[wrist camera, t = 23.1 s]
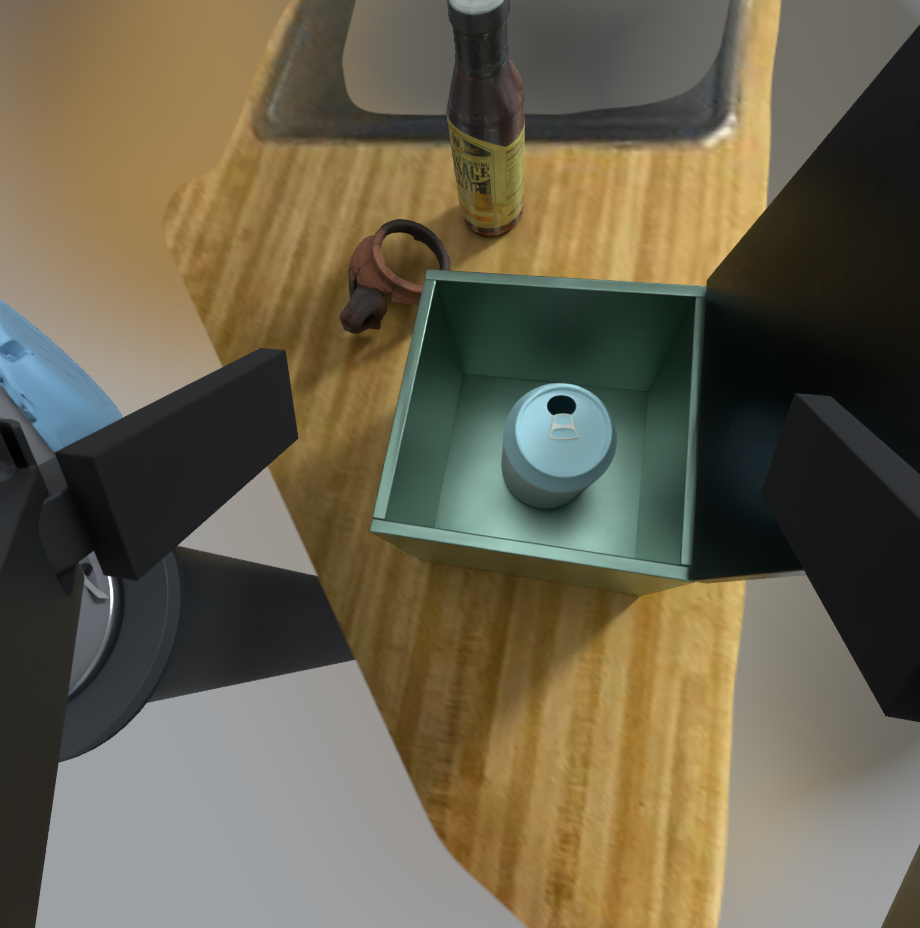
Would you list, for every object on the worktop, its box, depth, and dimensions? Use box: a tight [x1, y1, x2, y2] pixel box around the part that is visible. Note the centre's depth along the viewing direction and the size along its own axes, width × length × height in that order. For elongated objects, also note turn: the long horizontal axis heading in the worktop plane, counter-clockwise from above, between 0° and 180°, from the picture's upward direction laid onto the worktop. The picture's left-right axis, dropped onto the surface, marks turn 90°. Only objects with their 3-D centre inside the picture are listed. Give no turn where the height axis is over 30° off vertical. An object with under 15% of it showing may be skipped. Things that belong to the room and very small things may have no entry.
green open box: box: [369, 269, 707, 596], centre depth 37 cm, size 18×18×14 cm
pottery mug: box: [340, 219, 450, 334], centre depth 48 cm, size 12×10×8 cm
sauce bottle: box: [447, 0, 525, 236], centre depth 43 cm, size 6×6×20 cm
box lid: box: [692, 25, 920, 583], centre depth 19 cm, size 18×18×1 cm
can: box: [501, 383, 617, 508], centre depth 37 cm, size 7×7×12 cm
